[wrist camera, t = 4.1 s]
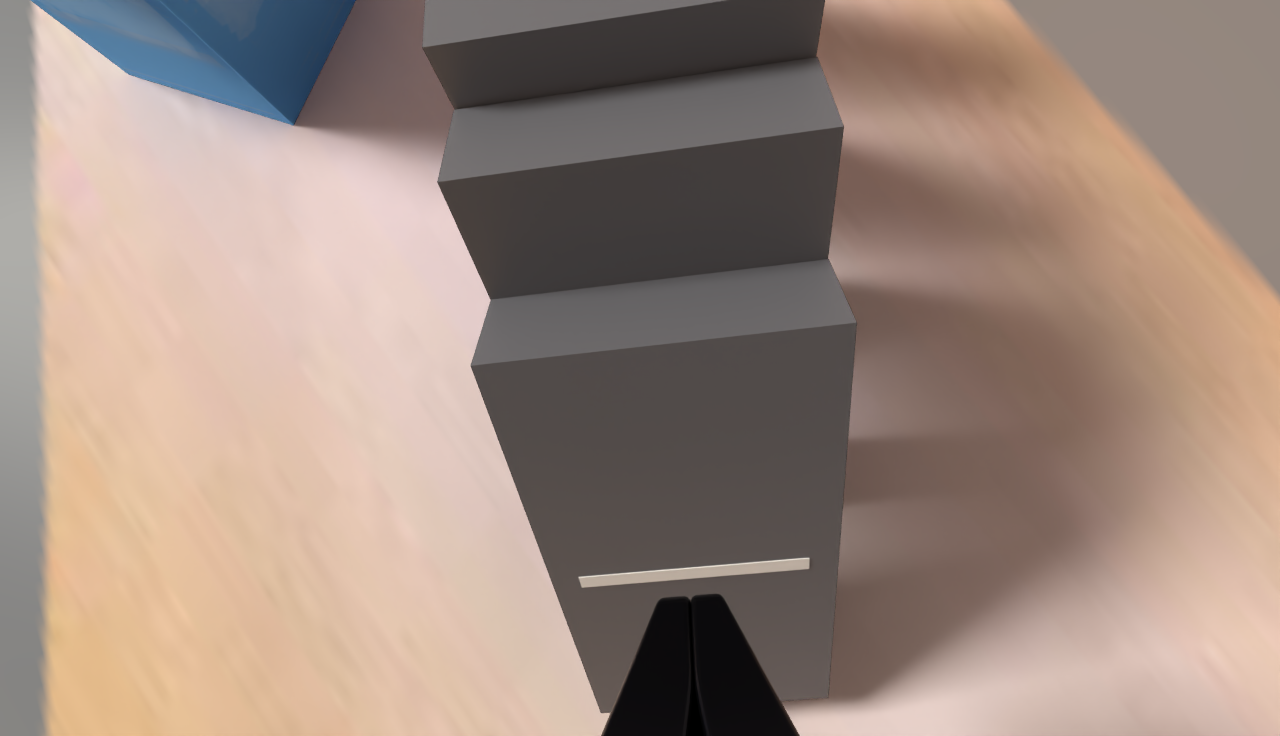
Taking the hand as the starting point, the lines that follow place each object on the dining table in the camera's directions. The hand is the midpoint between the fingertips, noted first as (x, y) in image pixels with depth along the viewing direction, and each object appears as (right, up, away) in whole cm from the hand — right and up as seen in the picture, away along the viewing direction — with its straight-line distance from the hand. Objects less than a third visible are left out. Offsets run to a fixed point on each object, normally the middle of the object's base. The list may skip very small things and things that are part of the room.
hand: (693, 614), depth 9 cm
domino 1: (+1, -4, +7) cm, 8 cm away
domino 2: (+1, +1, +8) cm, 8 cm away
